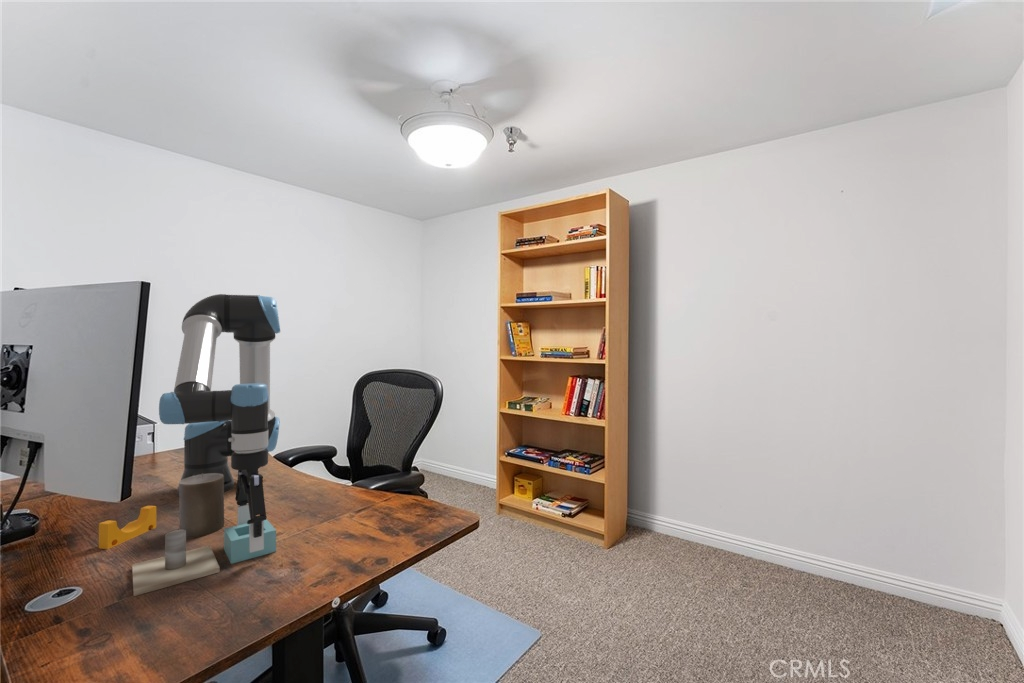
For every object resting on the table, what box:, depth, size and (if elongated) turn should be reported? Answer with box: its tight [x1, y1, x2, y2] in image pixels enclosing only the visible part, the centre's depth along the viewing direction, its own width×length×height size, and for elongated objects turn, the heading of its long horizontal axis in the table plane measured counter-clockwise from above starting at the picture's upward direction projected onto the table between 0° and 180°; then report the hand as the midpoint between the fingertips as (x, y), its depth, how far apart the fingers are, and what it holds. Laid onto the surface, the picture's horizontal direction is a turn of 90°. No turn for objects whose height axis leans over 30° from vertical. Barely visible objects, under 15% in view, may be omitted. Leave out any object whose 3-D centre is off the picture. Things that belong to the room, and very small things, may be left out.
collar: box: [223, 518, 277, 565], centre depth 106 cm, size 9×9×5 cm
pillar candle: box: [178, 473, 225, 538], centre depth 117 cm, size 10×10×15 cm
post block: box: [131, 529, 221, 597], centre depth 96 cm, size 14×14×8 cm
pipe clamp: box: [98, 505, 157, 550], centre depth 112 cm, size 12×4×6 cm, turn 170°
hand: (249, 541), depth 105 cm, fingers open, 13 cm apart
